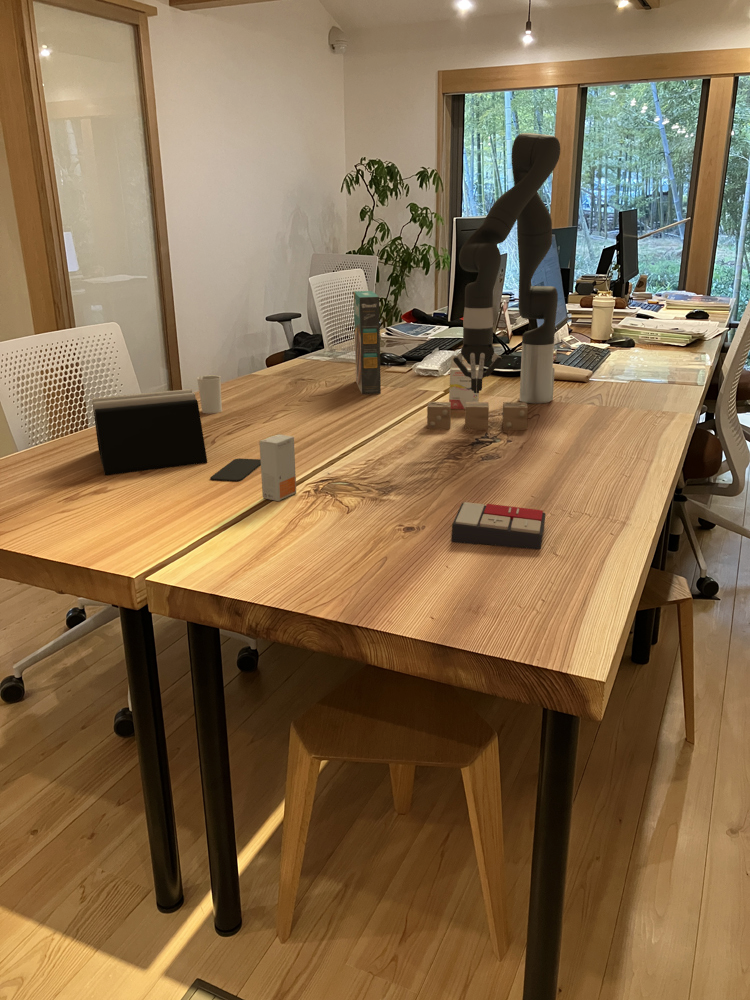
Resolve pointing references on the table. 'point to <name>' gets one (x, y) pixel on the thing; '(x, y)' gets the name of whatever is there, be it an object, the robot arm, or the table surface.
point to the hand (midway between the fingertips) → (476, 392)
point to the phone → (237, 470)
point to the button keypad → (498, 526)
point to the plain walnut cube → (476, 415)
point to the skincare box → (278, 467)
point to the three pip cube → (438, 415)
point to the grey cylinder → (210, 393)
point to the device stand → (148, 431)
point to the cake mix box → (367, 341)
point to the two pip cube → (514, 416)
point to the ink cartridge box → (461, 386)
